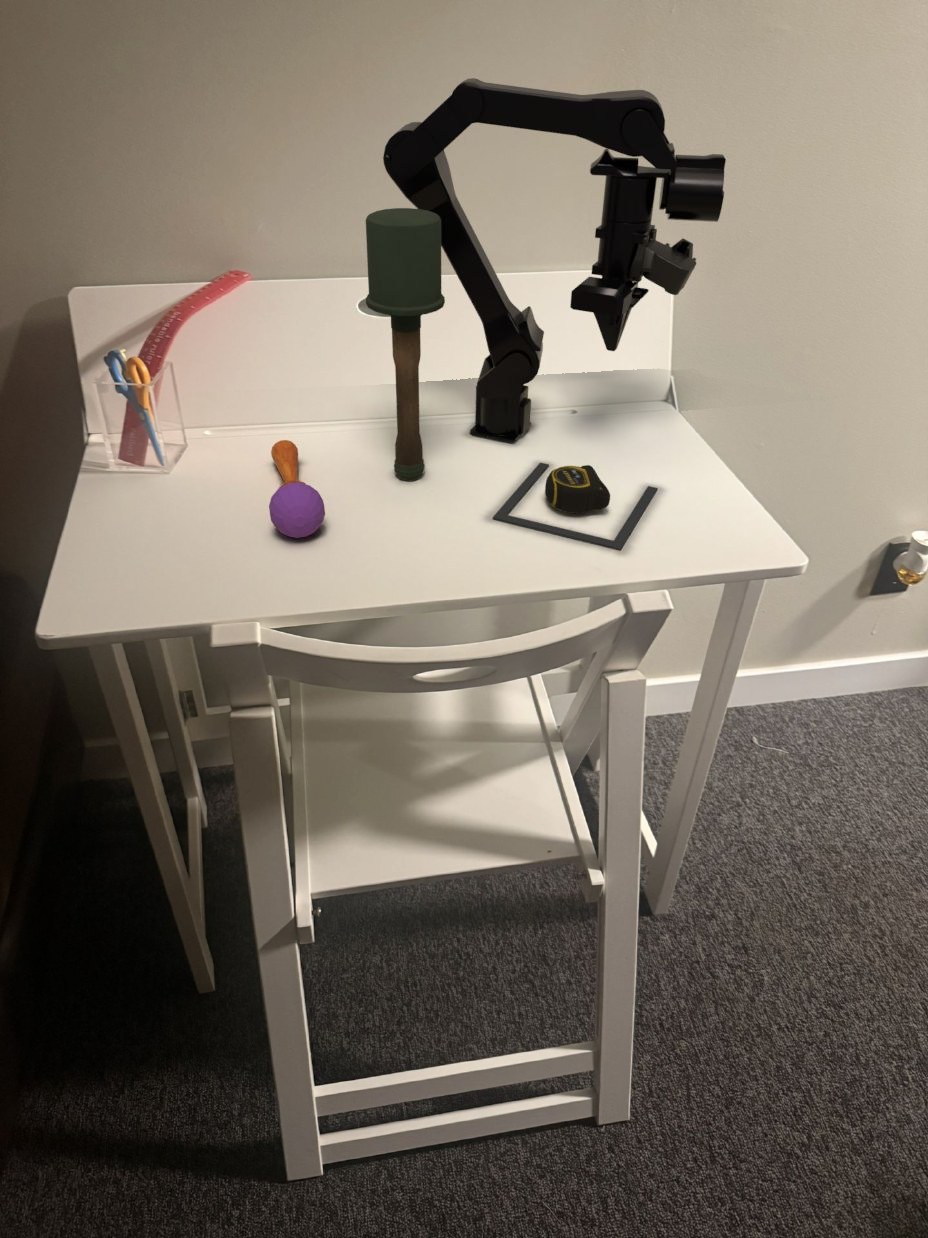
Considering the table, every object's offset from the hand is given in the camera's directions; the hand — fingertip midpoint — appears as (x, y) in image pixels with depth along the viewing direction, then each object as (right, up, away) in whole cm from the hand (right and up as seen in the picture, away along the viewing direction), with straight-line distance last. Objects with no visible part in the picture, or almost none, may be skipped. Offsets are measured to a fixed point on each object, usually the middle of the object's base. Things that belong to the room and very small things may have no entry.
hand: (611, 349), depth 113 cm
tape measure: (-5, -20, -7) cm, 22 cm away
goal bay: (-5, -20, -7) cm, 22 cm away
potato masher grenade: (-25, -16, -2) cm, 30 cm away
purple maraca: (-39, -20, -8) cm, 44 cm away
